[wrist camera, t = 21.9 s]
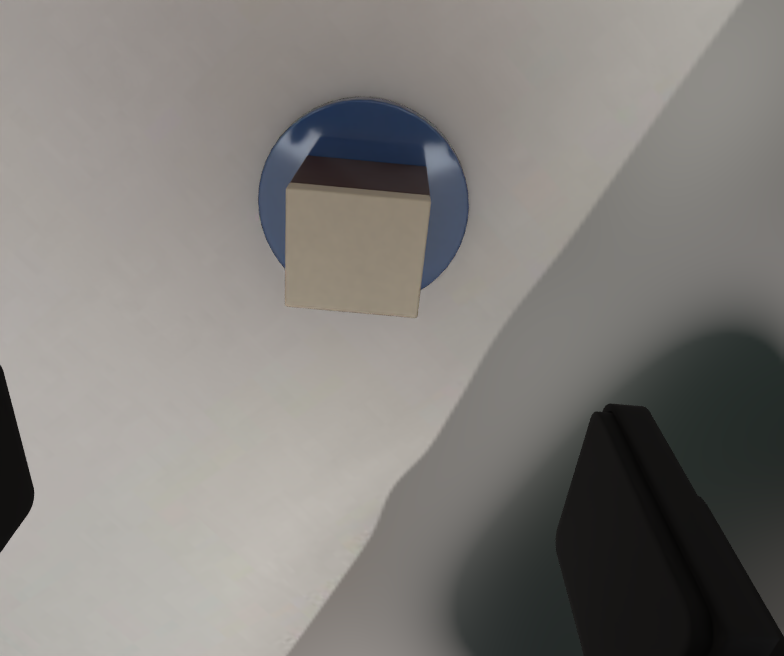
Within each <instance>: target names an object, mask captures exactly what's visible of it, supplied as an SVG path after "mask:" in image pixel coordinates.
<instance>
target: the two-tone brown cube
mask: <svg viewBox="0 0 784 656" xmlns="http://www.w3.org/2000/svg"><path fill="white" fill-rule="evenodd" d="M430 207H431V199H430V191H429V182H428V174H427V167H425V166H416V165H405V164H394V163H384V162H373V161H362V160H352V159H341V158H330V157H320V156H309V155H308V156H307V157H306V158H305V160H304V161H303V163H302V164H301V166H300V168H299V169H298V171H297V172H296V174H295V175H294V177H293V178H292V180H291V182H290V183H289V185H288V186H287V188H286V227H285V306H287V307H297V308H308V309H320V310H331V311H342V312H354V313H365V314H377V315H388V316H399V317H411V318H416V317H417V315H418V307H419V298H420V290H421V282H422V273H423V265H424V257H425V248H426V240H427V232H428V223H429V215H430Z"/></svg>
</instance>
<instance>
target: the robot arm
mask: <svg viewBox="0 0 784 656" xmlns="http://www.w3.org/2000/svg"><path fill="white" fill-rule="evenodd" d="M33 500H34V488H33V484H32V480H31V476H30V472H29V468H28V464H27V461H26V457H25V453H24V449H23V445H22V441H21V437H20V434H19V430H18V426H17V422H16V418H15V414H14V410H13V407H12V403H11V399H10V395H9V391H8V387H7V383H6V380H5V376H4V372H3V369H2V367H1V365H0V552H1V551H2V550H3V548H4V547H5V545H6V544H7V543H8V541H9V540H10V538H11V537H12V536H13V534H14V533H15V531H16V530H17V529H18V527H19V526H20V524H21V523H22V522H23V520H24V519H25V517H26V516H27V515H28V513H29V511H30V509H31V507H32V504H33ZM556 552H557V556H558V560H559V564H560V567H561V571H562V575H563V579H564V583H565V586H566V590H567V594H568V598H569V601H570V605H571V609H572V613H573V616H574V620H575V624H576V628H577V631H578V635H579V639H580V643H581V646H582V650H583V654H584V656H784V636H783V635H782V633H781V631H780V629H779V628H778V626H777V624H776V623H775V621H774V619H773V617H772V616H771V614H770V612H769V610H768V609H767V607H766V606H765V604H764V602H763V600H762V599H761V597H760V595H759V593H758V592H757V590H756V588H755V586H754V585H753V583H752V582H751V580H750V578H749V576H748V575H747V573H746V571H745V569H744V567H743V566H742V564H741V562H740V561H739V559H738V557H737V555H736V554H735V552H734V550H733V549H732V547H731V545H730V544H729V542H728V540H727V538H726V537H725V535H724V533H723V531H722V530H721V528H720V526H719V525H718V523H717V521H716V519H715V518H714V516H713V514H712V513H711V511H710V509H709V508H708V506H707V504H706V503H705V502H704V500H703V499H702V498H701V497H699V496H698V495H697V494H696V492H695V490H694V488H693V487H692V485H691V483H690V481H689V480H688V478H687V476H686V474H685V473H684V471H683V469H682V467H681V466H680V464H679V462H678V461H677V459H676V457H675V455H674V453H673V452H672V450H671V448H670V447H669V445H668V443H667V441H666V440H665V438H664V436H663V434H662V433H661V431H660V429H659V427H658V426H657V424H656V422H655V420H654V419H653V417H652V415H651V413H650V412H649V410H648V409H647V408H646V407H643V406H632V405H619V404H608V405H606V406H605V408H604V409H603V412H594V413H593V415H592V417H591V419H590V422H589V426H588V429H587V432H586V435H585V439H584V442H583V446H582V449H581V452H580V455H579V459H578V462H577V465H576V468H575V472H574V475H573V478H572V482H571V485H570V488H569V492H568V495H567V498H566V502H565V505H564V508H563V511H562V515H561V518H560V521H559V525H558V528H557V533H556Z"/></svg>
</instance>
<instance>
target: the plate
mask: <svg viewBox="0 0 784 656" xmlns="http://www.w3.org/2000/svg"><path fill="white" fill-rule="evenodd" d="M308 155H309V156H320V157H330V158H341V159H352V160H362V161H373V162H384V163H394V164H405V165H416V166H425V167H427V174H428V182H429V191H430V199H431V207H430V215H429V223H428V232H427V240H426V248H425V257H424V265H423V273H422V282H421V290H422V289H423V288H425V287H426V286H428V285H429V284H430V283H431V282H433V281H434V280H435V279H436V278H437V277H439V275H440V274H441V273H442V272H443V271H444V270H445V269H446V268H447V267H448V265H449V264H450V262H451V261H452V259H453V258H454V257H455V255H456V253H457V251H458V249H459V247H460V245H461V242H462V240H463V237H464V234H465V230H466V226H467V221H468V211H469V199H468V190H467V184H466V179H465V176H464V173H463V170H462V167H461V164H460V161H459V159H458V157H457V155H456V153H455V151H454V149H453V148H452V146H451V145H450V143H449V142H448V140H447V139H446V138H445V136H444V135H443V134H442V133H441V132H440V131H439V130H438V129H437V127H435V126H434V125H433V124H432V123H431V122H430V121H428V120H427V119H426V118H425V117H423V116H422V115H420V114H419V113H417V112H415V111H414V110H412V109H410V108H408V107H406V106H403V105H401V104H399V103H395V102H392V101H389V100H385V99H379V98H373V97H351V98H343V99H339V100H335V101H331V102H328V103H326V104H323V105H321V106H318V107H316V108H314V109H312V110H311V111H309V112H307V113H306V114H304V115H303V116H301V117H300V118H299V119H298V120H296V121H295V122H294V123H293V124H292V125H291V126H290V127H289V128H288V129H287V130H286V131H285V132H284V133H283V134H282V136H281V137H280V138H279V139H278V141H277V142H276V144H275V145H274V147H273V148H272V150H271V152H270V154H269V156H268V158H267V160H266V162H265V165H264V168H263V171H262V174H261V179H260V184H259V194H258V205H259V215H260V220H261V225H262V228H263V231H264V234H265V237H266V240H267V242H268V244H269V246H270V248H271V250H272V252H273V253H274V255H275V256H276V258H277V259H278V261H279V262H280V263H281V264H282V266H283V267H284V268H285V227H286V188H287V186H288V185H289V183H290V182H291V180H292V178H293V177H294V175H295V174H296V172H297V171H298V169H299V168H300V166H301V164H302V163H303V161H304V160H305V158H306V157H307V156H308Z"/></svg>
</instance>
